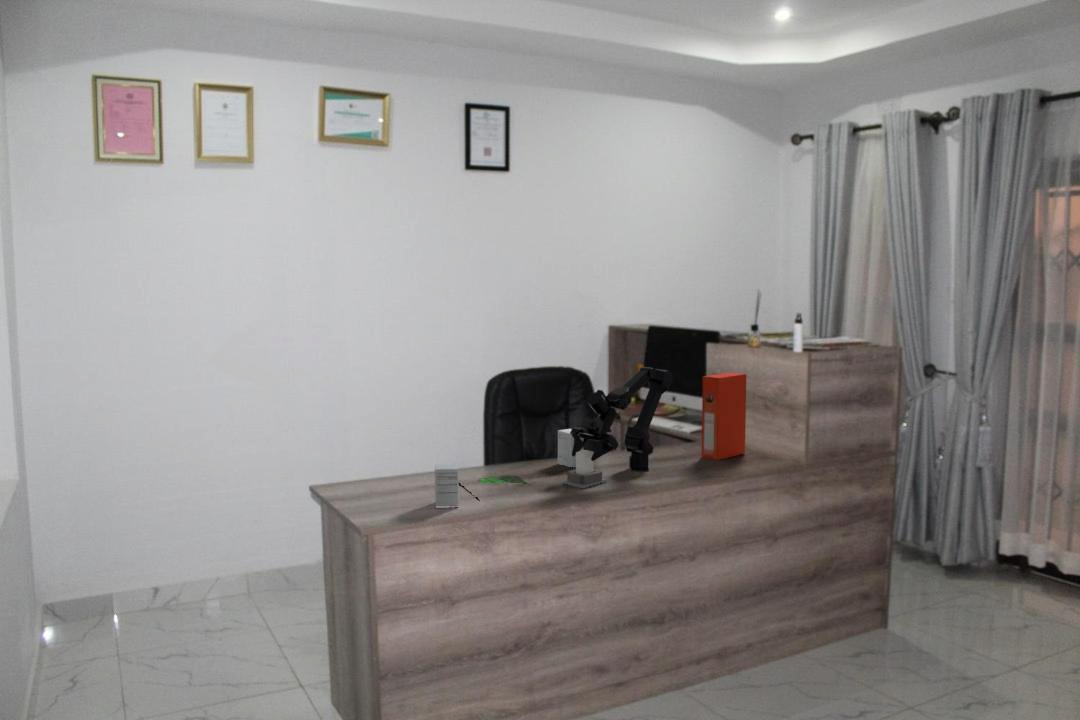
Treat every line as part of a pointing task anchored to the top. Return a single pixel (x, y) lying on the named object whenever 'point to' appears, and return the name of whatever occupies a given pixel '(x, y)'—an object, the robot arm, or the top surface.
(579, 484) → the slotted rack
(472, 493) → the top surface
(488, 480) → the mouse mat
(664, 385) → the robot arm
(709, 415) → the file binder
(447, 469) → the grey drawer cabinet
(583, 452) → the plain light grey box
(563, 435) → the small box
